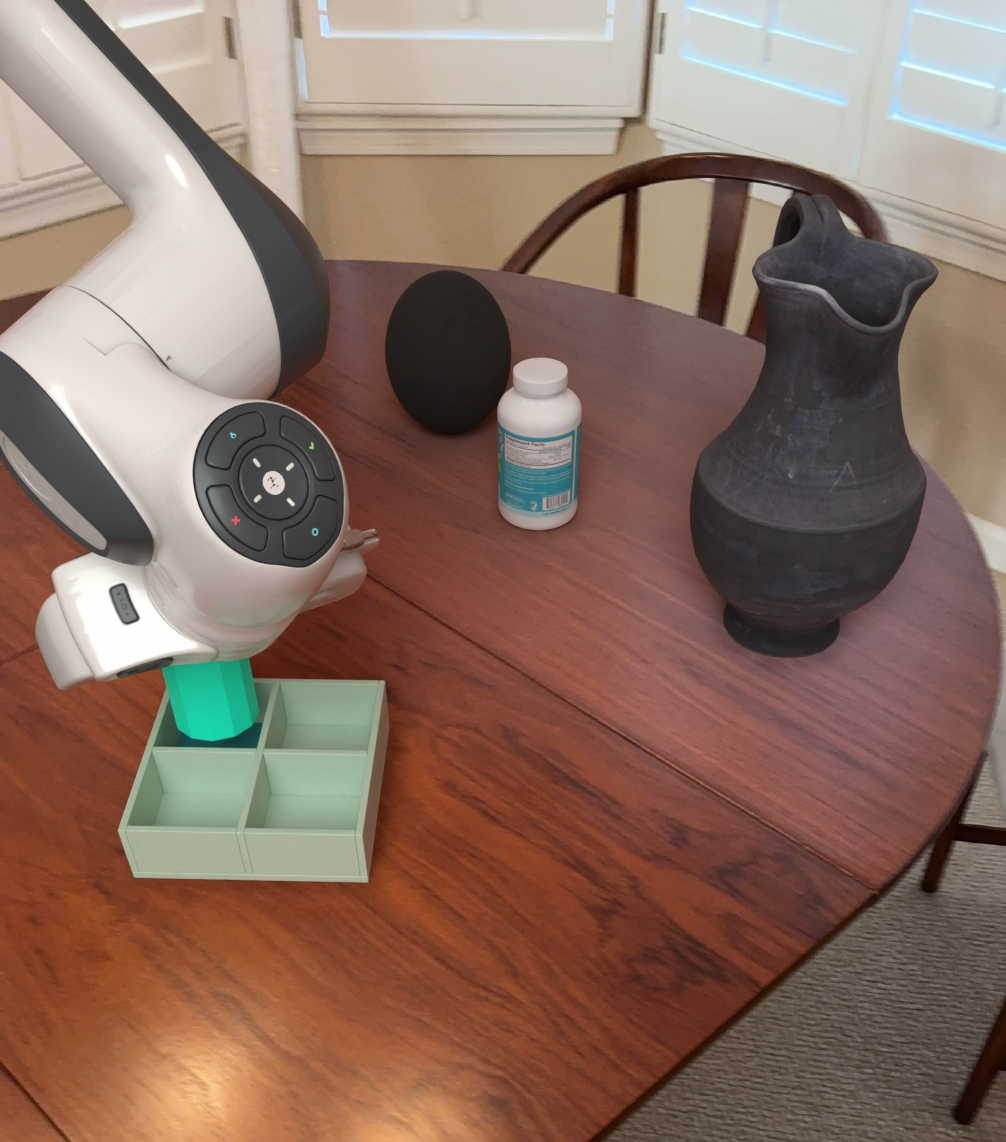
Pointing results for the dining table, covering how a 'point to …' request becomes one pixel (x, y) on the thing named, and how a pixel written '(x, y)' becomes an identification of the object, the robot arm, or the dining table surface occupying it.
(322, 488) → the robot arm
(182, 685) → the candle
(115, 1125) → the dining table surface
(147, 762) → the compartment tray
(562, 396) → the pill bottle
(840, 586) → the pitcher
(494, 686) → the dining table surface
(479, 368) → the decorative egg
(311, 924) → the dining table surface
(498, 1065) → the dining table surface
